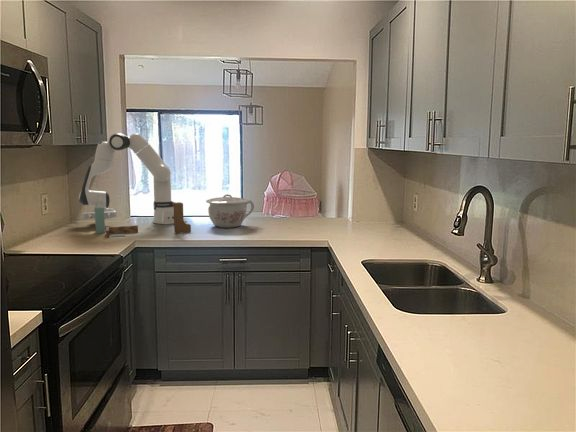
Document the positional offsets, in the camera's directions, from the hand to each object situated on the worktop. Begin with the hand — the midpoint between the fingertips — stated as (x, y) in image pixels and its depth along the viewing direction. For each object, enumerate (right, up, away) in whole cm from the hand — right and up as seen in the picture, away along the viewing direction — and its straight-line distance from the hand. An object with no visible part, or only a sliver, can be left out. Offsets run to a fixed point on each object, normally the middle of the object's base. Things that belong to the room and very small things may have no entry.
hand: (99, 216), depth 297 cm
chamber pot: (+77, -6, +16) cm, 79 cm away
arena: (+19, -11, -15) cm, 26 cm away
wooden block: (+52, -10, -5) cm, 53 cm away
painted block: (+4, -9, -9) cm, 13 cm away
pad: (+17, -11, -17) cm, 26 cm away
